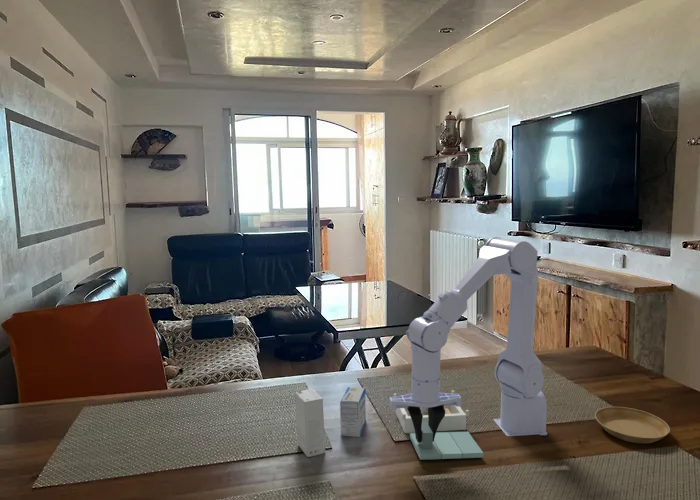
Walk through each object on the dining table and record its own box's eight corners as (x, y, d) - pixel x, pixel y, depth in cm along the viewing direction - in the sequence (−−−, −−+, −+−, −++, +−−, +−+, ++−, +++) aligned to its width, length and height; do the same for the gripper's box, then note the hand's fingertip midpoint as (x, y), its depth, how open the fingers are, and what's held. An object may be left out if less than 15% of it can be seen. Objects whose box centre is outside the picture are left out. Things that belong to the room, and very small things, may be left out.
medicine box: (360, 439, 110) (359, 402, 109) (340, 437, 111) (339, 400, 110) (366, 422, 118) (365, 387, 117) (347, 420, 119) (347, 386, 118)
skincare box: (326, 453, 105) (325, 398, 103) (305, 458, 103) (304, 402, 101) (315, 439, 110) (314, 387, 109) (295, 444, 108) (294, 391, 107)
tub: (453, 410, 124) (453, 390, 123) (468, 432, 113) (469, 410, 112) (393, 413, 122) (393, 393, 121) (402, 436, 111) (403, 414, 110)
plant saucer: (592, 439, 110) (593, 428, 110) (595, 411, 123) (596, 401, 123) (672, 456, 103) (673, 444, 103) (666, 424, 116) (667, 414, 116)
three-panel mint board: (467, 436, 110) (468, 416, 109) (483, 457, 101) (484, 436, 100) (409, 437, 108) (410, 417, 108) (420, 459, 99) (421, 438, 99)
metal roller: (426, 416, 120) (426, 405, 120) (429, 418, 118) (428, 408, 118) (410, 417, 120) (409, 406, 120) (412, 419, 117) (411, 409, 117)
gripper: (454, 367, 106) (452, 427, 108) (386, 371, 105) (386, 431, 107) (465, 381, 99) (463, 445, 101) (393, 384, 98) (393, 449, 100)
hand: (424, 439), depth 104 cm, fingers closed on three-panel mint board, 2 cm apart
